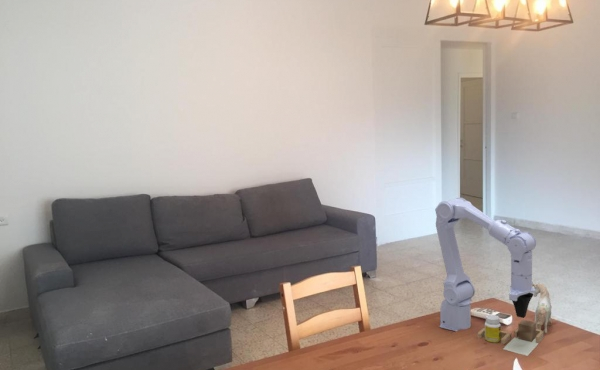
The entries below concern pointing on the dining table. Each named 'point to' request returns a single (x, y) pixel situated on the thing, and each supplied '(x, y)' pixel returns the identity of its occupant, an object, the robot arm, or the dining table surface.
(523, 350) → the jig board
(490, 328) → the supplement bottle
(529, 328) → the block
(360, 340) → the dining table surface
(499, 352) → the dining table surface
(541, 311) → the unicorn figurine
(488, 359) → the dining table surface
